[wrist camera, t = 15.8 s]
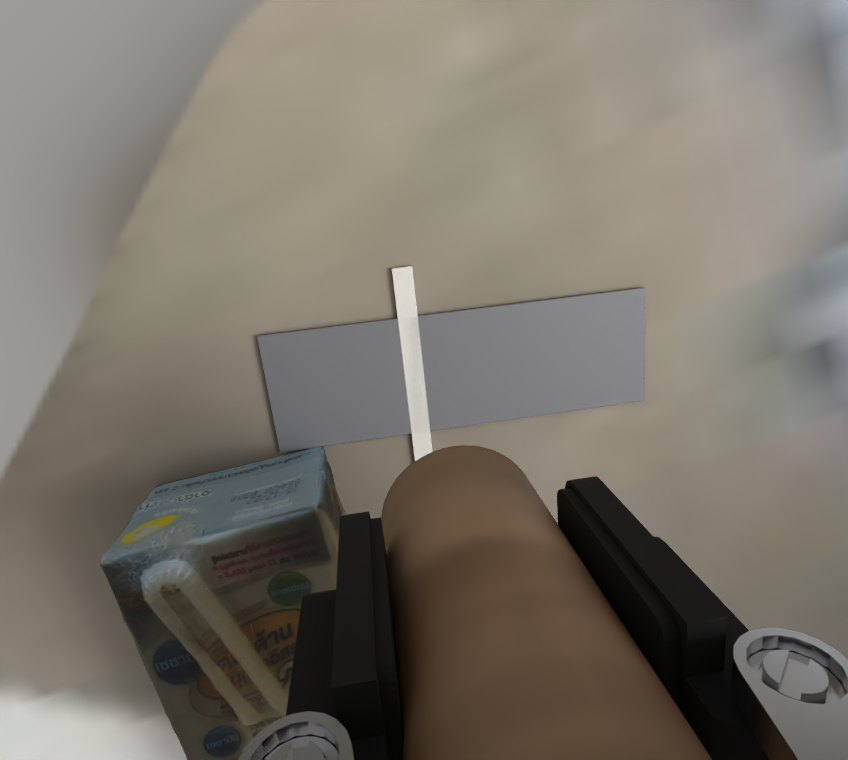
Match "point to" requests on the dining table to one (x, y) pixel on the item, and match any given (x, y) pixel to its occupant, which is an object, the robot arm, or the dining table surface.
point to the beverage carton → (226, 591)
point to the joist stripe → (453, 367)
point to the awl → (510, 628)
